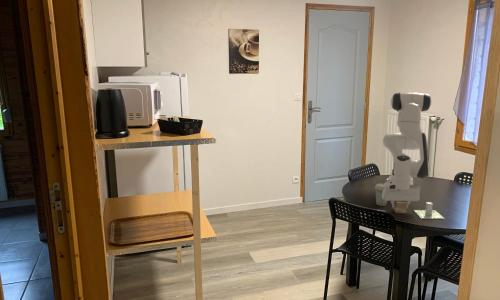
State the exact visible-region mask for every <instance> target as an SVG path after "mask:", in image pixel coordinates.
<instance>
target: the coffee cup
mask: <svg viewBox="0 0 500 300" xmlns="http://www.w3.org/2000/svg"><path fill="white" fill-rule="evenodd" d="M384 184H385V183H383V182H382V183H376V184H375V185H374V190H375V203H376V205H377V206H380V207H384V206H387V205H388V201H384V200H383V199H382V191H383V188H384V187H385V185H384Z"/></svg>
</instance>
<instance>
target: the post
mask: <svg viewBox="0 0 500 300" xmlns="http://www.w3.org/2000/svg"><path fill="white" fill-rule="evenodd" d="M433 205H434V203H433V202H430V201H426V202H425V209H413V212H414V214H416V215H417V216H418V217H419V219H421V220H445V217H444V216H442V215H441V214H440V213H439V212H438V211H437V210H433Z"/></svg>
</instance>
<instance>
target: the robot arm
mask: <svg viewBox="0 0 500 300" xmlns="http://www.w3.org/2000/svg"><path fill="white" fill-rule="evenodd" d="M431 105H432V98H431V95H430V94H428V93H419V92H397V93H394V94H393V95H392V97H391V99H390V106H391V108H392V109H393V110H395V111H396V112H398V115H397V121H396V125H397V127H398V129H399V132H391V133H386V134H385V135H384V137H383V139H382V144H383V146H384V147H385V148H386V149H387V150H388V151H389V152H390V153H391V155H392V161H393V164H392V165H393V166H392V170H391V175H390V176H388V178H386V181H385V182H384V183H383V184H384V185H385V187H384V188H383V191H382V199H383V200H384V201H387V202H390V203H391V205H392V206H391V208H392V209H394V208H396V205H395V204H394V201H406V202H407V205H406V209H408V208H409V205H410V204H411V202H419V201H420V200H421V195H420V193H421V186H420V185H418V184H414V178H416V179H417V178H418V179H425V178H427V177H429V176H430V172H431V166H430V162H429V152H428V143H427V141H428V140H427V135H426V132H424V131H423V130H422V128H421V122H422V121H421V120H422V119H421V116H422V115H421V112H426V111H429V109H430V108H431ZM403 150H405V151H406V150H408V151H412V150H414V151H415V150H419V159H418V160H417V159H412V158H411V156H410V155H408V154H405V153H404V152H403Z"/></svg>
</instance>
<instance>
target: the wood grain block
mask: <svg viewBox="0 0 500 300" xmlns="http://www.w3.org/2000/svg"><path fill="white" fill-rule="evenodd" d="M394 204H395V205H396V208H393V211H394V212H395V214H406V213H407V208H406V205H407V201H394Z"/></svg>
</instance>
